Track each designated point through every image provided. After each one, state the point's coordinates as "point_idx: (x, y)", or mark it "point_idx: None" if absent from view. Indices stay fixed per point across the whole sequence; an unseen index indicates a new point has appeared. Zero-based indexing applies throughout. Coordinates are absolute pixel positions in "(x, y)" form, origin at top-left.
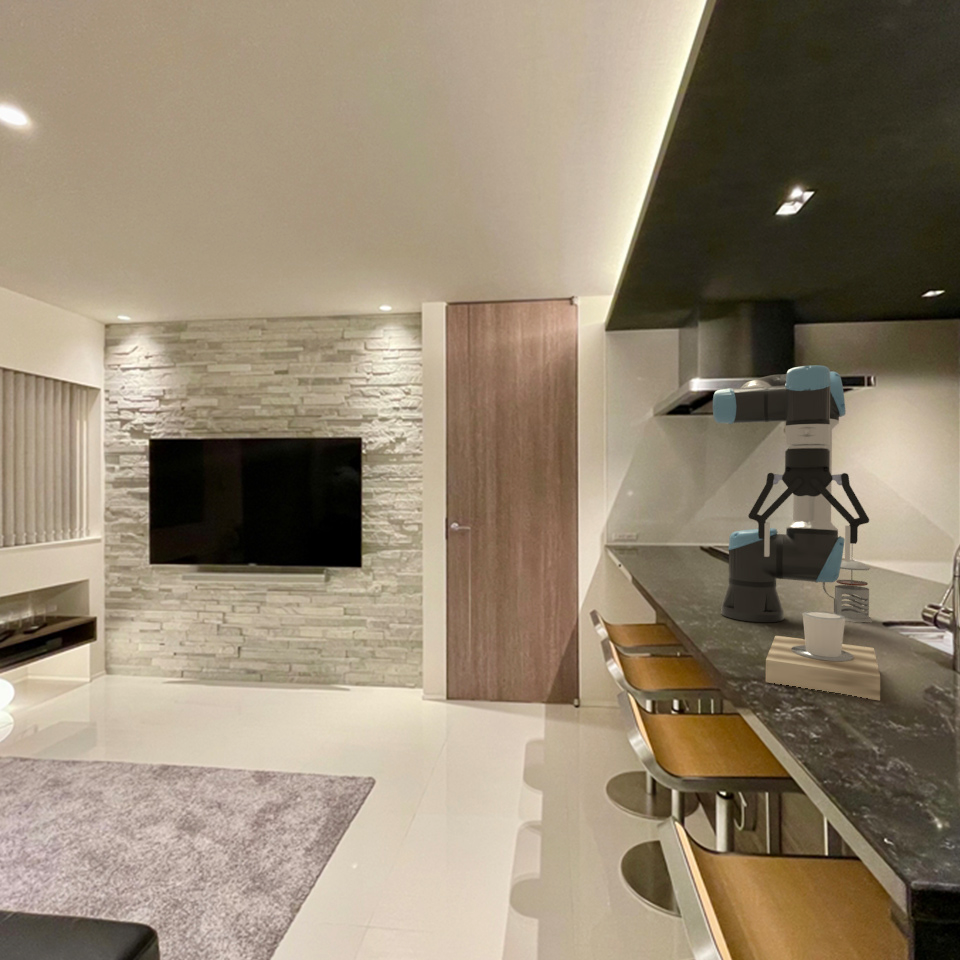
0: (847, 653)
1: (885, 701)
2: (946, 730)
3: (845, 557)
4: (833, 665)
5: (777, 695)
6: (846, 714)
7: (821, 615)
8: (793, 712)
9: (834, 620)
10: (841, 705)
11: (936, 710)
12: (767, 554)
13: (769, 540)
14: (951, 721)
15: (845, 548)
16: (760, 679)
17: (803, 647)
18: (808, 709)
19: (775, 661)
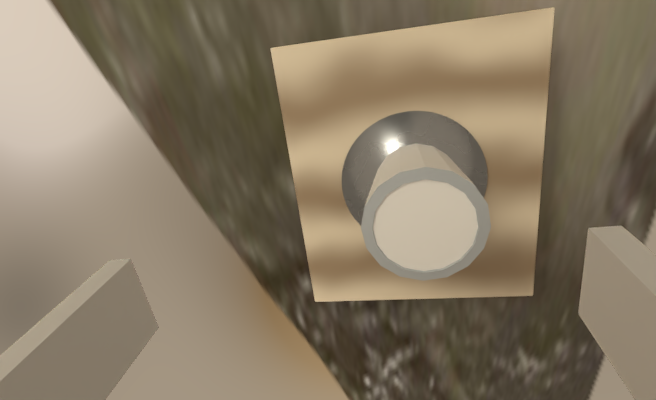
0: (473, 151)
1: None
2: (600, 348)
3: (592, 334)
4: None
5: (354, 327)
6: (459, 355)
7: (418, 231)
8: (388, 381)
9: (458, 269)
10: (451, 322)
11: None
12: (146, 337)
13: (67, 342)
14: None
15: (628, 388)
16: None
17: (365, 159)
18: (406, 361)
19: (333, 300)
